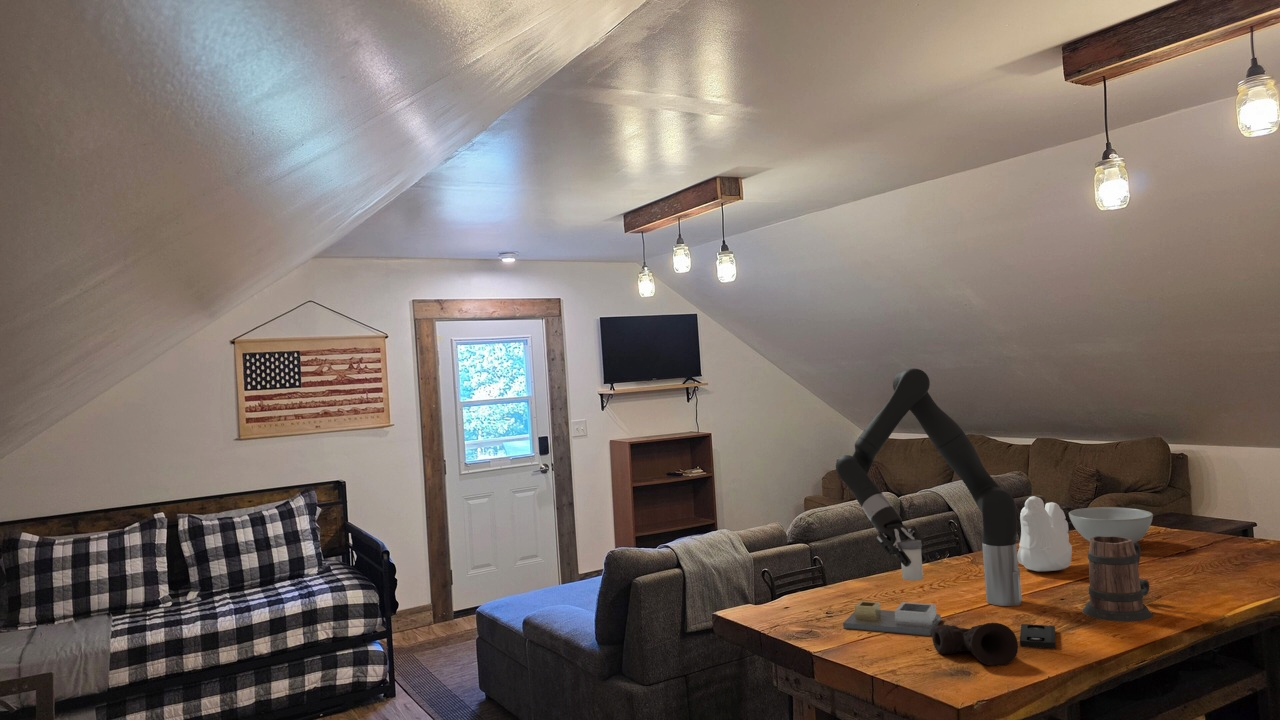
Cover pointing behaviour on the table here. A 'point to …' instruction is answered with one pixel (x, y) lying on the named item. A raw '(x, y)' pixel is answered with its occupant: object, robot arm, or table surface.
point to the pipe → (978, 642)
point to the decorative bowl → (1111, 522)
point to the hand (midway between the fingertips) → (916, 562)
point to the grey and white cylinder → (912, 560)
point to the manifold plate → (894, 618)
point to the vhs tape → (1037, 636)
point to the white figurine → (1044, 537)
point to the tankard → (1116, 581)
